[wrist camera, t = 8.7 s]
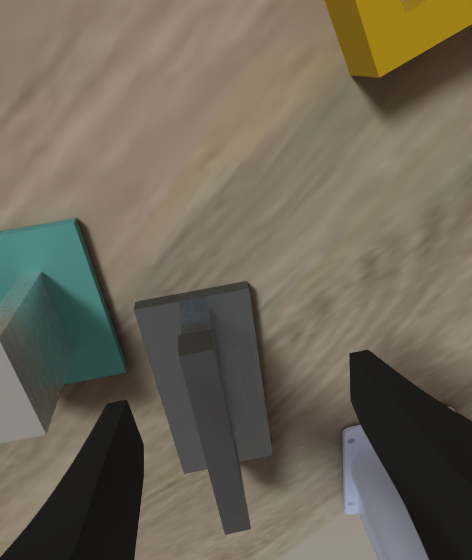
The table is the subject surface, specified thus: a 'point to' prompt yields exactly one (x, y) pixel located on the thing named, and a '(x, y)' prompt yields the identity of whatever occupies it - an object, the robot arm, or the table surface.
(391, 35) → the mechanical clamp
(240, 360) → the rail holder
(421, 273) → the table surface
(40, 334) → the steel hook block
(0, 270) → the teal mat
